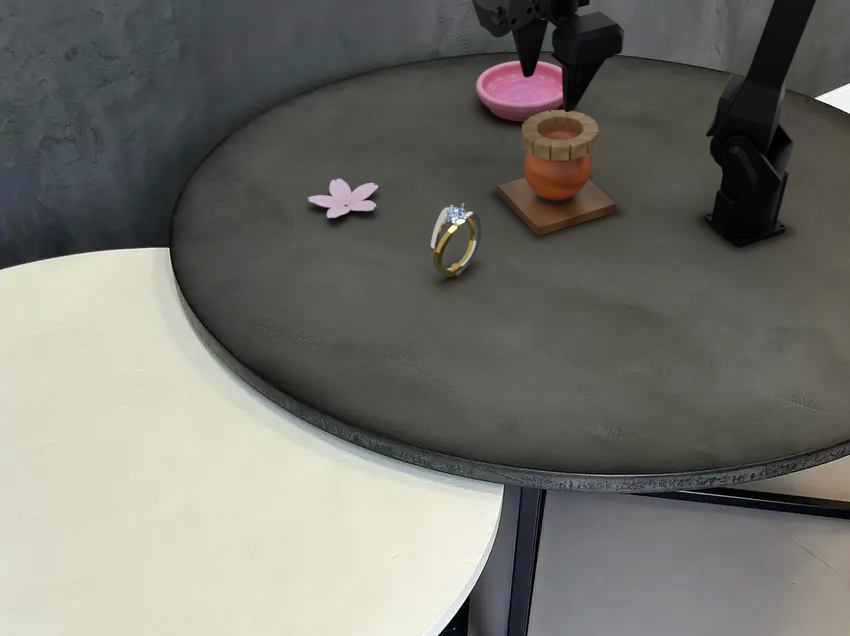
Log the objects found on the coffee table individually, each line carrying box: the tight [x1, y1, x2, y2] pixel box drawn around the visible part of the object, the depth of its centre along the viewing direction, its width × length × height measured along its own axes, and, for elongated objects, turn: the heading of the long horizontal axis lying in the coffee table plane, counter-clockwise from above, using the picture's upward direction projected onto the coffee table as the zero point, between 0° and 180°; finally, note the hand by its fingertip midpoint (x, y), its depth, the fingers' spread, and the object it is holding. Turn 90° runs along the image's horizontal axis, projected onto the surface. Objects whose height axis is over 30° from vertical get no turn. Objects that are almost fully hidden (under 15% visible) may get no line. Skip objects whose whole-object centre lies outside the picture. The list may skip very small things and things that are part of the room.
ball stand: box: [497, 129, 617, 237], centre depth 112 cm, size 10×10×9 cm
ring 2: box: [521, 109, 599, 161], centre depth 108 cm, size 8×8×2 cm
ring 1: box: [429, 202, 483, 278], centre depth 104 cm, size 7×3×8 cm, turn 132°
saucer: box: [476, 60, 563, 122], centre depth 130 cm, size 12×12×3 cm
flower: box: [307, 177, 379, 219], centre depth 116 cm, size 10×10×2 cm
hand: (548, 93), depth 108 cm, fingers open, 9 cm apart
